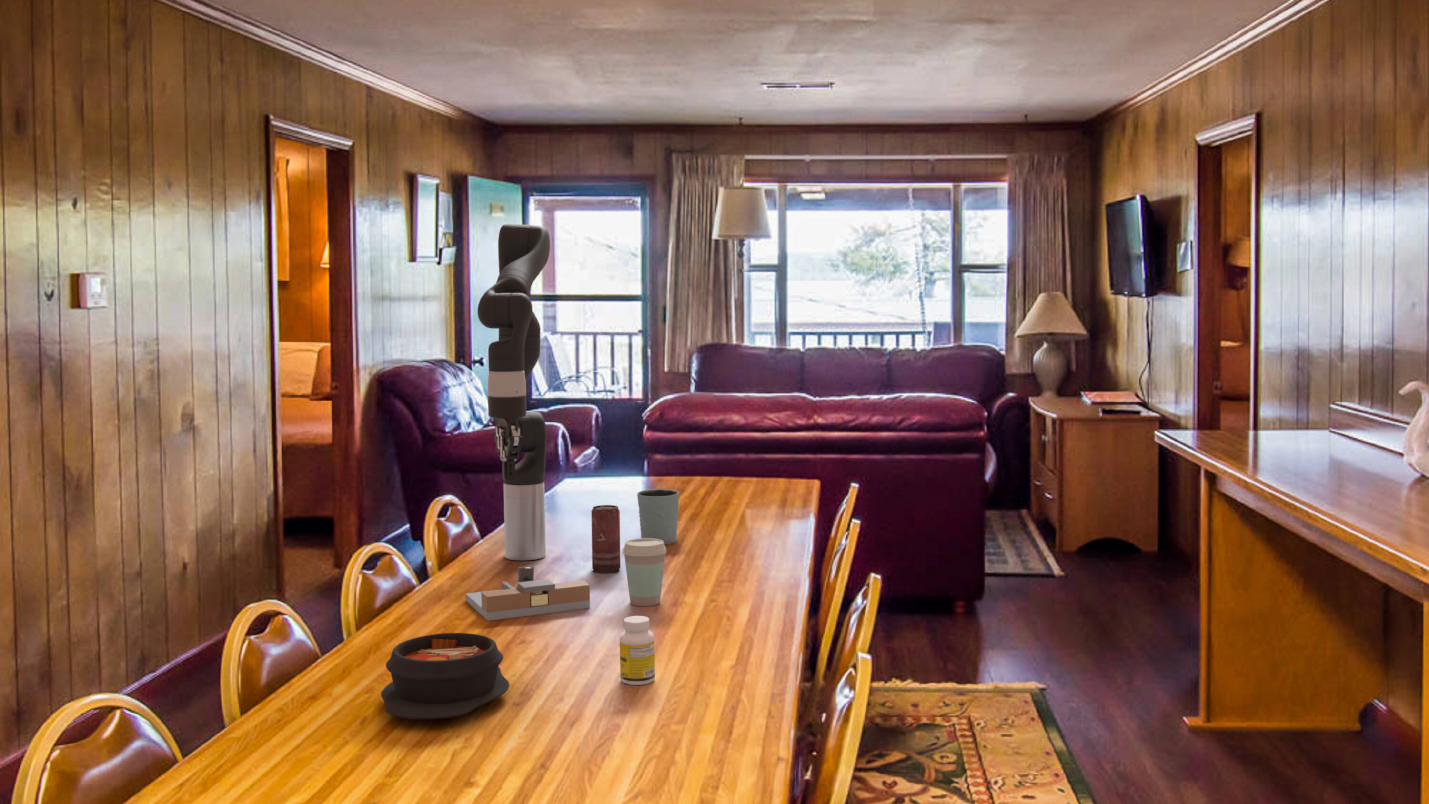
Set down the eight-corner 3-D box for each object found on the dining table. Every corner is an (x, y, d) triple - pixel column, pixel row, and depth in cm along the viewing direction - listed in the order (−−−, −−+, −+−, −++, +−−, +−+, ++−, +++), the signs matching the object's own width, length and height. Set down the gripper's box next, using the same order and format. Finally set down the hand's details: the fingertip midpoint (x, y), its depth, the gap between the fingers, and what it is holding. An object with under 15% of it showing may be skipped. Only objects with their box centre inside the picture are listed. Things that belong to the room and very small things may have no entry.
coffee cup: (673, 599, 237) (672, 539, 236) (657, 609, 229) (656, 547, 228) (633, 595, 240) (632, 536, 239) (616, 606, 232) (615, 544, 231)
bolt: (516, 594, 234) (515, 566, 234) (532, 592, 236) (531, 565, 235) (531, 606, 225) (530, 577, 225) (547, 604, 227) (547, 575, 226)
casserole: (410, 673, 192) (408, 622, 191) (525, 675, 191) (524, 623, 190) (355, 731, 167) (353, 672, 166) (487, 733, 166) (486, 673, 165)
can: (617, 574, 258) (616, 509, 257) (588, 572, 259) (587, 508, 258) (624, 567, 264) (624, 504, 263) (597, 566, 265) (596, 503, 264)
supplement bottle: (620, 675, 190) (619, 614, 189) (654, 674, 190) (653, 613, 190) (620, 686, 185) (619, 624, 184) (655, 685, 185) (655, 623, 184)
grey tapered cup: (682, 537, 296) (681, 489, 295) (676, 545, 286) (676, 496, 285) (641, 536, 297) (640, 488, 296) (634, 545, 287) (634, 495, 286)
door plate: (466, 600, 236) (465, 573, 236) (563, 589, 245) (562, 562, 244) (487, 621, 222) (487, 591, 221) (590, 608, 230) (589, 580, 230)
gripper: (535, 395, 235) (536, 483, 237) (515, 390, 247) (517, 473, 249) (497, 396, 232) (499, 485, 234) (479, 391, 244) (481, 476, 245)
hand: (508, 479), depth 241 cm, fingers closed
